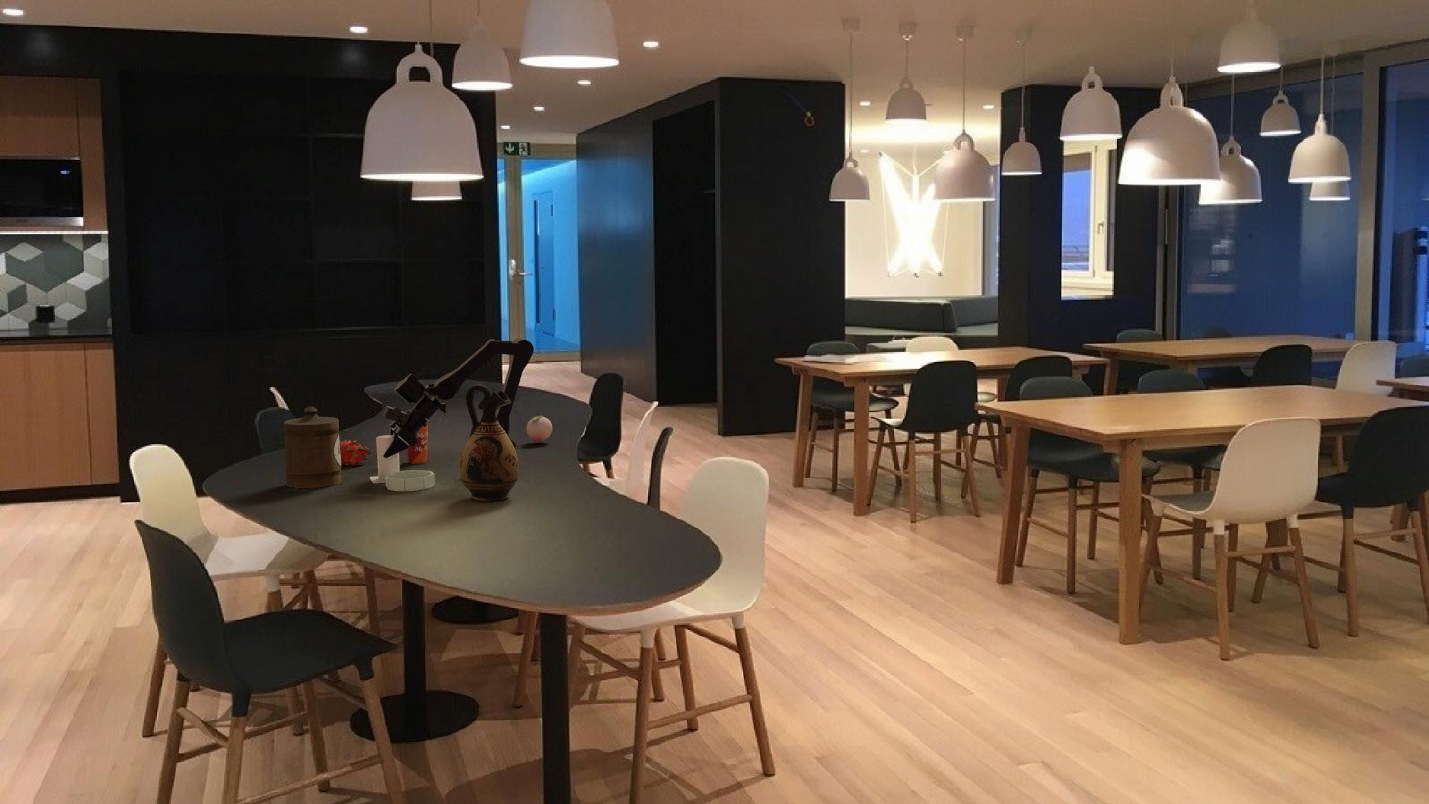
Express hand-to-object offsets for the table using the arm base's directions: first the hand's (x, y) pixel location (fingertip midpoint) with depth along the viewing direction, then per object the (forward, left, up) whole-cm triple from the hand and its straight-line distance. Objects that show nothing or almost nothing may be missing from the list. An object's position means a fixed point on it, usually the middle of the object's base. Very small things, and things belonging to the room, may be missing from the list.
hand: (383, 455), depth 354 cm
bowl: (-14, +7, -7) cm, 17 cm away
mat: (-1, -1, -7) cm, 7 cm away
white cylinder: (-1, -1, -7) cm, 7 cm away
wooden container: (+15, +11, -7) cm, 20 cm away
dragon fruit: (+24, -17, -7) cm, 31 cm away
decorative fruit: (-12, -69, -7) cm, 70 cm away
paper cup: (+7, -27, -7) cm, 29 cm away
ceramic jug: (-42, +12, -7) cm, 44 cm away
